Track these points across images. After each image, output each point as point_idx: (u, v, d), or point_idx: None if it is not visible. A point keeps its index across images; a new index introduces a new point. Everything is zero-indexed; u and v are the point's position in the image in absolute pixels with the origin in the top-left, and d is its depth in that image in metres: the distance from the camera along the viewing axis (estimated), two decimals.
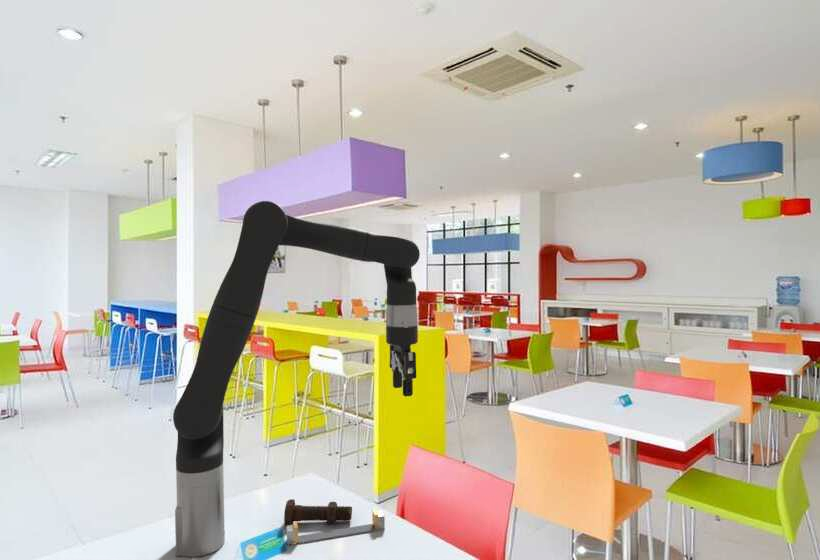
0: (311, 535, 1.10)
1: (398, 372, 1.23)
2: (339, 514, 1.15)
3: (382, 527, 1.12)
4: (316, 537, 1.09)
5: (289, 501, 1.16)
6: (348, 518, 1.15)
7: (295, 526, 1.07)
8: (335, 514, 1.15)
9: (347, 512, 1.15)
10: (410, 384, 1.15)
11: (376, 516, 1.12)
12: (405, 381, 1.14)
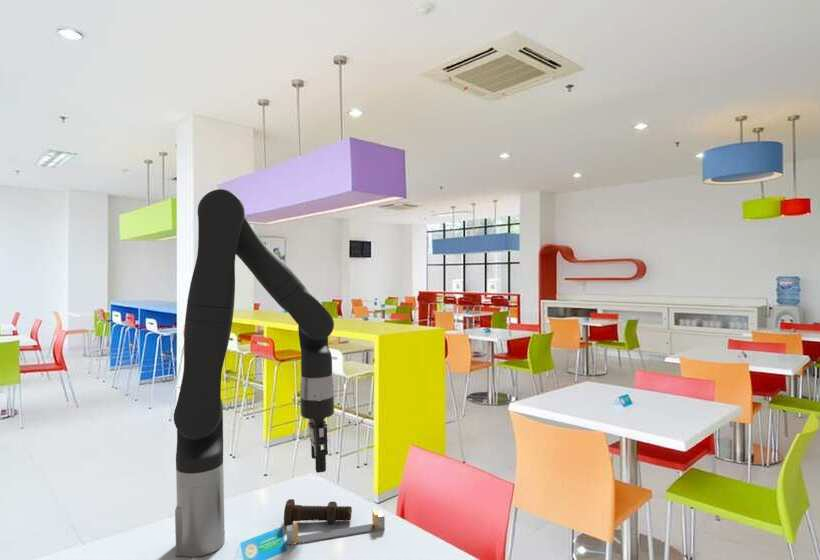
0: (311, 535, 1.10)
1: None
2: (339, 514, 1.15)
3: (382, 527, 1.12)
4: (316, 537, 1.09)
5: (289, 501, 1.16)
6: (348, 518, 1.15)
7: (295, 526, 1.07)
8: (335, 514, 1.15)
9: (347, 512, 1.15)
10: (322, 460, 1.11)
11: (376, 516, 1.12)
12: (317, 457, 1.11)
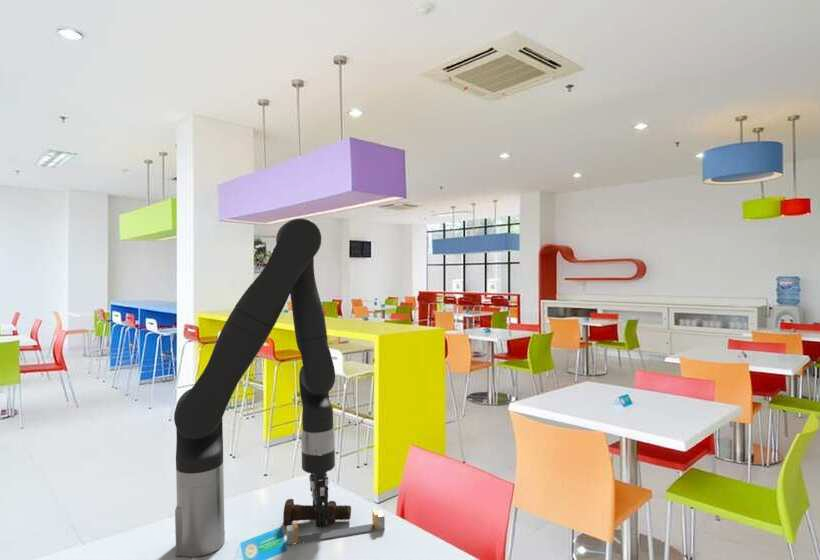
0: (311, 535, 1.10)
1: None
2: (338, 513, 1.15)
3: (382, 527, 1.12)
4: (316, 537, 1.09)
5: (288, 501, 1.16)
6: (347, 517, 1.15)
7: (295, 526, 1.07)
8: (334, 513, 1.15)
9: (346, 511, 1.15)
10: (323, 515, 1.12)
11: (376, 516, 1.12)
12: (317, 513, 1.12)
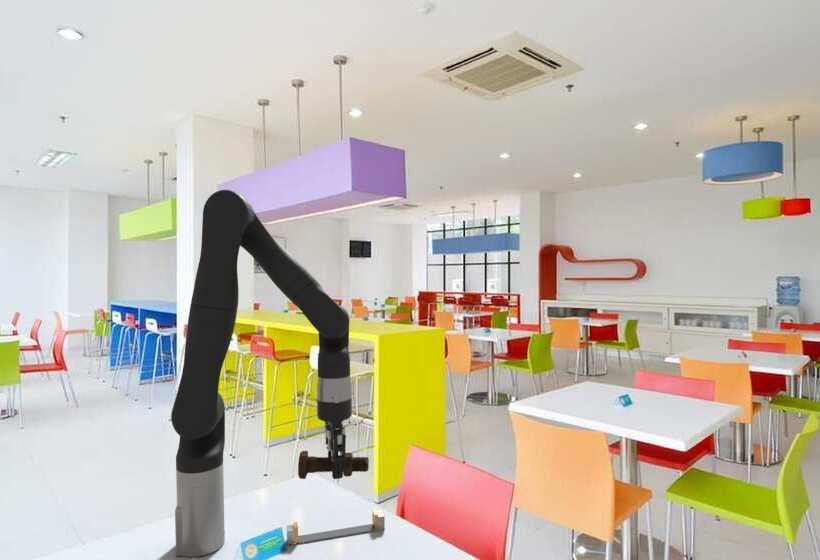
0: (311, 535, 1.10)
1: None
2: (356, 464, 1.09)
3: (382, 527, 1.12)
4: (316, 537, 1.09)
5: (302, 452, 1.10)
6: (365, 468, 1.10)
7: (295, 526, 1.07)
8: (352, 464, 1.09)
9: (364, 462, 1.10)
10: (340, 466, 1.07)
11: (376, 516, 1.12)
12: (334, 463, 1.07)
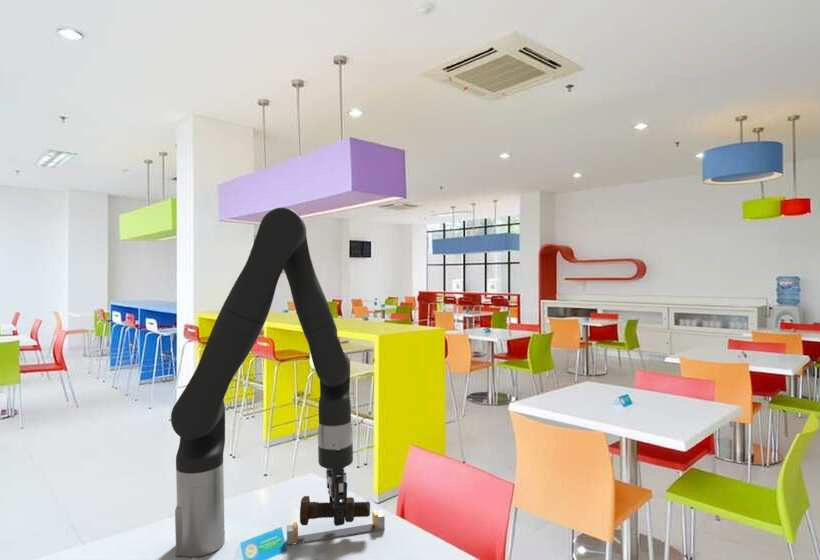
0: (311, 535, 1.10)
1: None
2: (357, 510, 1.10)
3: (382, 527, 1.12)
4: (316, 537, 1.09)
5: (304, 498, 1.10)
6: (367, 514, 1.10)
7: (295, 526, 1.07)
8: (353, 510, 1.09)
9: (366, 508, 1.10)
10: (341, 513, 1.07)
11: (376, 516, 1.12)
12: (336, 510, 1.07)
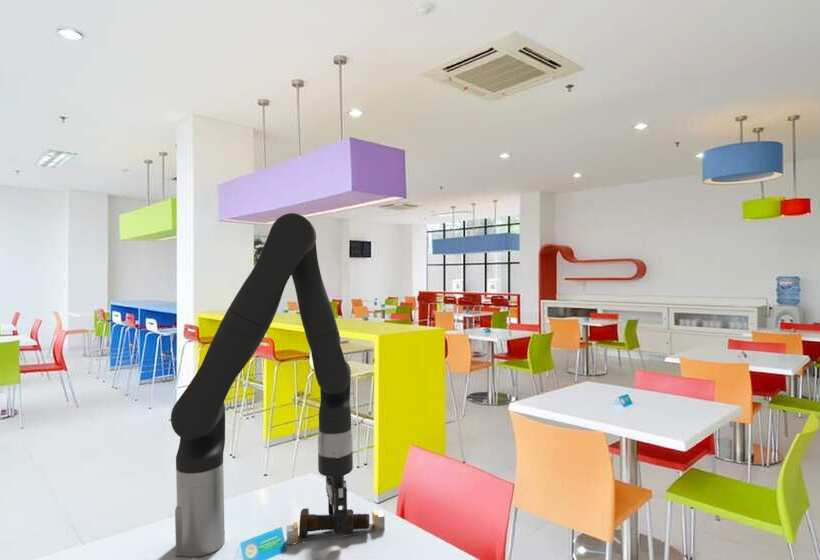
0: (311, 535, 1.10)
1: None
2: (357, 522, 1.10)
3: (382, 527, 1.12)
4: (316, 537, 1.09)
5: (303, 510, 1.10)
6: (366, 526, 1.10)
7: (295, 526, 1.07)
8: (353, 522, 1.10)
9: (365, 520, 1.10)
10: (341, 521, 1.06)
11: (376, 516, 1.12)
12: (336, 518, 1.06)
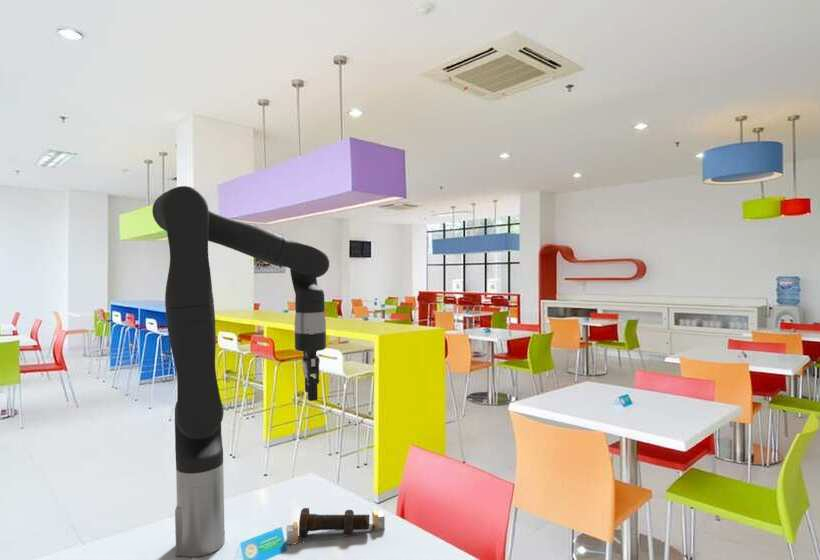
0: (311, 535, 1.10)
1: (310, 377, 1.27)
2: (356, 523, 1.10)
3: (382, 527, 1.12)
4: (316, 537, 1.09)
5: (303, 510, 1.11)
6: (366, 527, 1.10)
7: (295, 526, 1.07)
8: (352, 523, 1.09)
9: (365, 521, 1.10)
10: (314, 389, 1.19)
11: (376, 516, 1.12)
12: (309, 386, 1.19)
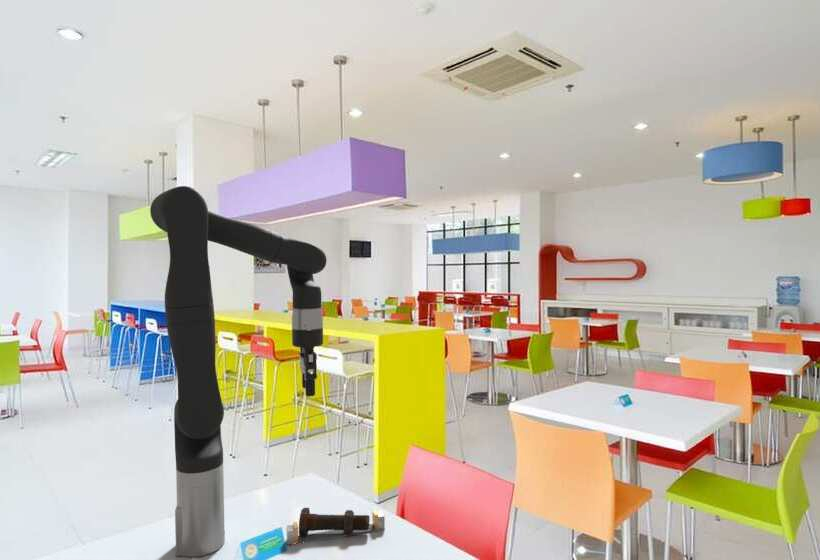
0: (311, 535, 1.10)
1: None
2: (356, 523, 1.09)
3: (382, 527, 1.12)
4: (316, 537, 1.09)
5: (304, 509, 1.11)
6: (366, 527, 1.10)
7: (295, 526, 1.07)
8: (352, 523, 1.09)
9: (365, 521, 1.10)
10: (312, 384, 1.20)
11: (376, 516, 1.12)
12: (307, 381, 1.20)
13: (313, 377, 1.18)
